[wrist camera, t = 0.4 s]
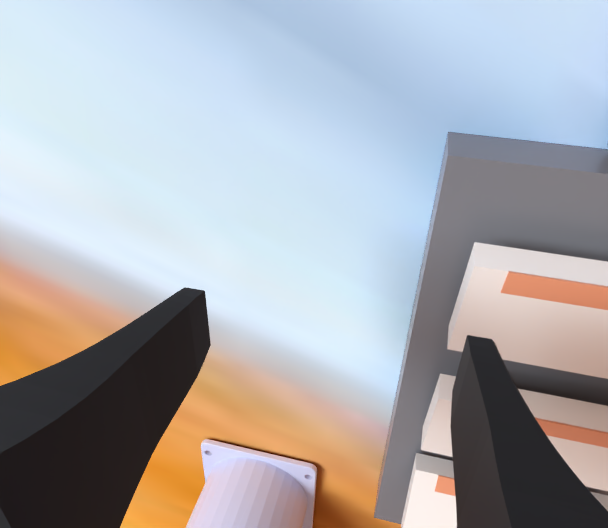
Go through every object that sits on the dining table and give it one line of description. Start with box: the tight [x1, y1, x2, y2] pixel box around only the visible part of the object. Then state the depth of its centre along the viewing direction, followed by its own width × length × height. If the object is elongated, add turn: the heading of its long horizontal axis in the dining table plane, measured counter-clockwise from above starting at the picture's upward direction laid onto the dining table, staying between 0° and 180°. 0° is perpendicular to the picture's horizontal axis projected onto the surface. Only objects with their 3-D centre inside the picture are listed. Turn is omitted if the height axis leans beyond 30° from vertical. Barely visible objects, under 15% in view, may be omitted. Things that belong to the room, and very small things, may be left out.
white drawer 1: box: [401, 453, 608, 528], centre depth 25 cm, size 5×9×1 cm, turn 88°
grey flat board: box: [374, 132, 608, 524], centre depth 22 cm, size 30×12×2 cm, turn 178°
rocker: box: [421, 374, 608, 491], centre depth 22 cm, size 5×9×1 cm, turn 87°
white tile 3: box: [447, 242, 608, 379], centre depth 18 cm, size 5×9×1 cm, turn 87°
